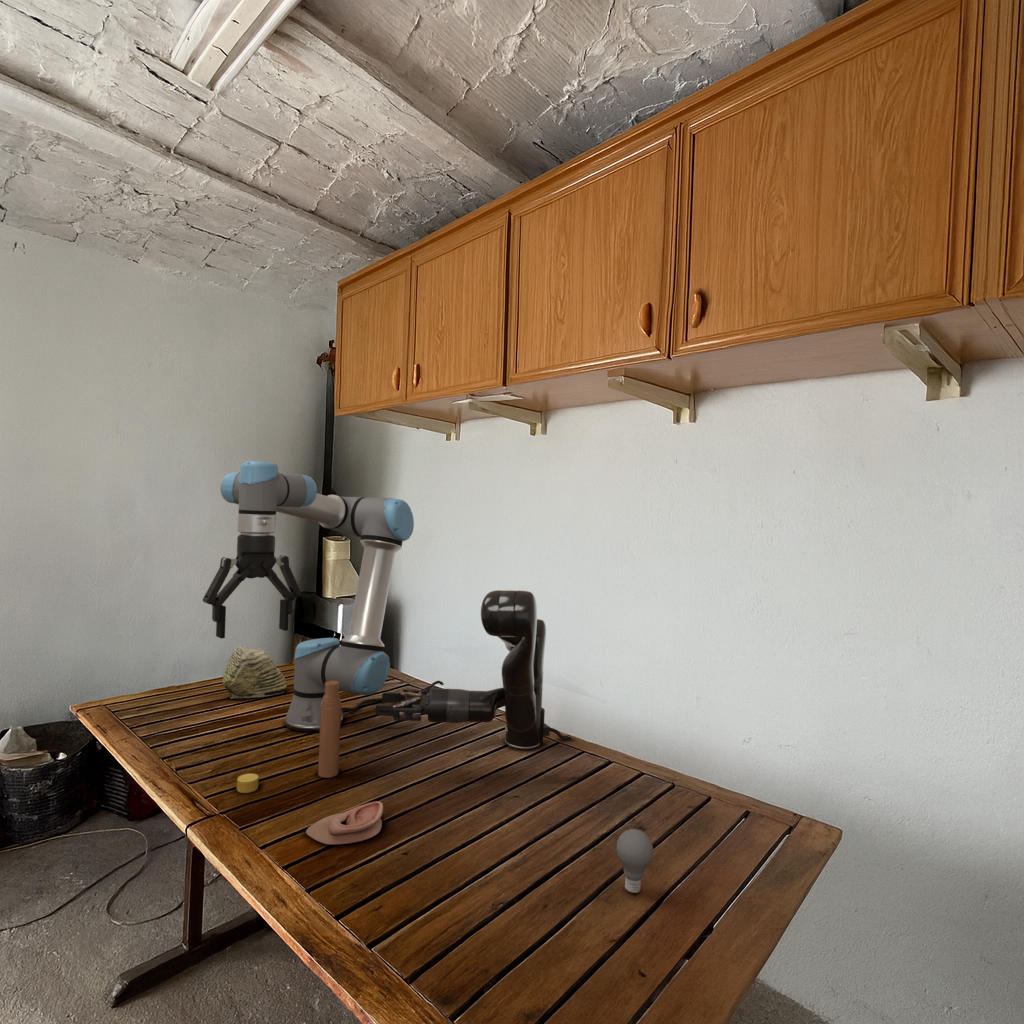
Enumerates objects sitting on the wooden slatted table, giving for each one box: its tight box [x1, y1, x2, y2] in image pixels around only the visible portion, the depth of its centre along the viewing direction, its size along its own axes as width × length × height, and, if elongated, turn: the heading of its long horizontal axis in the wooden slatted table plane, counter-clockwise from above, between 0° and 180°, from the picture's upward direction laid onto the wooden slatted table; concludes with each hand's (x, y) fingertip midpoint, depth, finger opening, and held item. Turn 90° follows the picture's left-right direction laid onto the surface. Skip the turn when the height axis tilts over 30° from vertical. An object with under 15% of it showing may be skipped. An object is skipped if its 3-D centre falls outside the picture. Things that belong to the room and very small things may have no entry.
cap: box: [236, 773, 260, 794], centre depth 136 cm, size 4×4×2 cm
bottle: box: [317, 681, 342, 779], centre depth 145 cm, size 5×5×21 cm
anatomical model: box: [305, 800, 384, 846], centre depth 121 cm, size 13×4×12 cm
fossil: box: [222, 646, 288, 699], centre depth 198 cm, size 9×18×15 cm, turn 132°
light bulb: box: [615, 828, 654, 894], centre depth 106 cm, size 6×6×10 cm
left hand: (253, 633), depth 135 cm, fingers open, 13 cm apart
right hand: (379, 703), depth 145 cm, fingers open, 8 cm apart
